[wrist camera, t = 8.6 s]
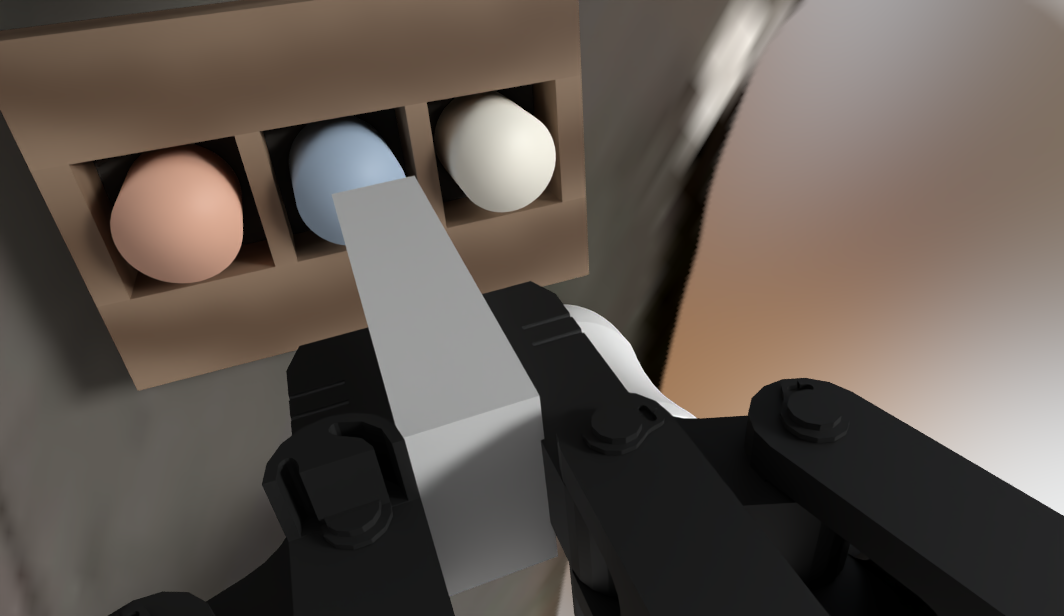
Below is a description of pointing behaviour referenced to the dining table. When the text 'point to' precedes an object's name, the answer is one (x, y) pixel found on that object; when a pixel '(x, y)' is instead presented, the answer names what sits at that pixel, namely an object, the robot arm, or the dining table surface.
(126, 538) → the dining table surface
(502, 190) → the cream rounded lump
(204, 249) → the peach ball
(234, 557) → the dining table surface
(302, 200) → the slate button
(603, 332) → the water bottle
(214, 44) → the brown wooden tray
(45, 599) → the dining table surface
